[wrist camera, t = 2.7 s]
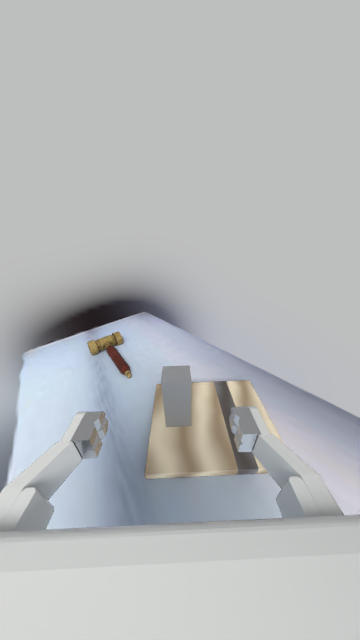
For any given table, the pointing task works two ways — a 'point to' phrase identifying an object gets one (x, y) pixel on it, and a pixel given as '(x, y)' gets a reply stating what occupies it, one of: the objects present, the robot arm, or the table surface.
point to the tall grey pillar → (176, 395)
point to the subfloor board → (203, 434)
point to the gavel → (111, 351)
